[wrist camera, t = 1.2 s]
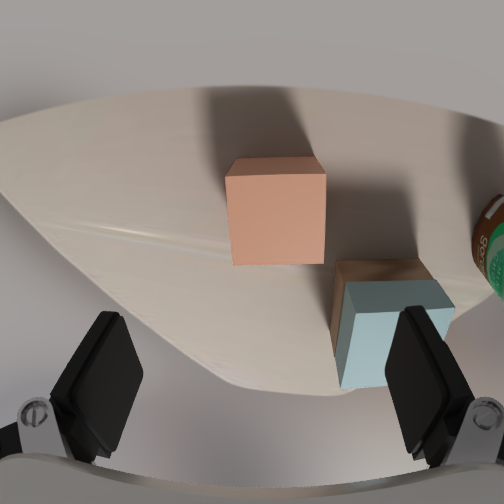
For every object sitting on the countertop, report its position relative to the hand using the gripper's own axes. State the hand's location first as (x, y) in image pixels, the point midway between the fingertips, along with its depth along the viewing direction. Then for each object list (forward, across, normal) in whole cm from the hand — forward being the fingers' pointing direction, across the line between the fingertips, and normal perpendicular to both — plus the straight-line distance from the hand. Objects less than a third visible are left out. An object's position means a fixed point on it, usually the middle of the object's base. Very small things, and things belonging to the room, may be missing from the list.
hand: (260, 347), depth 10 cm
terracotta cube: (+17, -1, 0) cm, 17 cm away
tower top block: (+13, -10, +10) cm, 19 cm away
